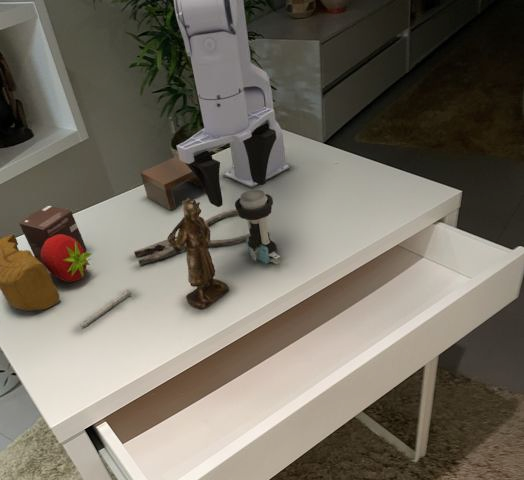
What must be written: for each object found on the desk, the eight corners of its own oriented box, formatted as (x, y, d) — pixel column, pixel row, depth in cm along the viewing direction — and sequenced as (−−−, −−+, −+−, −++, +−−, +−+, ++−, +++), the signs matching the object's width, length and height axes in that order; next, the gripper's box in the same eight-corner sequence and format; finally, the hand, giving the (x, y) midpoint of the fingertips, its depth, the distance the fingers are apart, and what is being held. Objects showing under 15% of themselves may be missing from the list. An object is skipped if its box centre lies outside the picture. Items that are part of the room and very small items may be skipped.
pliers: (268, 225, 89) (158, 278, 82) (269, 230, 89) (159, 283, 82) (235, 205, 95) (130, 252, 88) (236, 209, 96) (131, 257, 89)
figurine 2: (32, 265, 92) (63, 301, 82) (-7, 283, 90) (20, 322, 80) (13, 227, 88) (43, 260, 78) (-28, 245, 86) (-3, 281, 75)
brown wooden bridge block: (191, 177, 108) (185, 152, 104) (215, 188, 103) (210, 162, 99) (147, 197, 104) (140, 172, 100) (170, 211, 99) (163, 184, 95)
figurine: (194, 317, 76) (167, 218, 66) (175, 307, 78) (147, 210, 68) (232, 289, 79) (212, 191, 69) (214, 280, 81) (192, 184, 71)
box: (61, 270, 89) (42, 229, 84) (36, 262, 92) (17, 222, 87) (88, 250, 92) (72, 210, 87) (63, 243, 95) (46, 204, 90)
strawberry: (44, 224, 86) (87, 226, 81) (68, 265, 91) (110, 269, 86) (16, 246, 83) (59, 249, 78) (42, 287, 88) (84, 293, 82)
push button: (292, 258, 83) (286, 196, 76) (264, 274, 81) (255, 212, 74) (264, 242, 87) (256, 182, 80) (237, 257, 85) (226, 197, 78)
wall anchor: (126, 292, 82) (131, 296, 81) (79, 326, 77) (84, 330, 77) (126, 288, 81) (131, 292, 81) (78, 322, 77) (83, 326, 76)
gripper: (191, 117, 63) (213, 223, 73) (286, 78, 69) (295, 180, 78) (158, 106, 68) (183, 207, 77) (250, 69, 74) (263, 167, 83)
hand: (238, 193), depth 78 cm, fingers open, 7 cm apart
